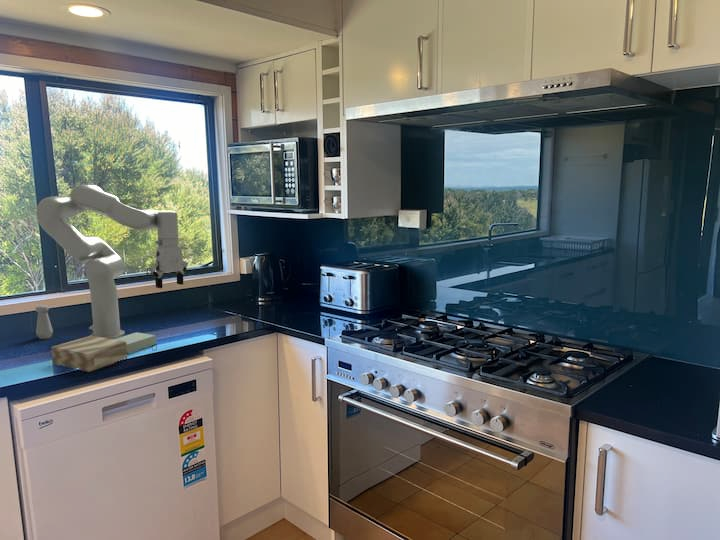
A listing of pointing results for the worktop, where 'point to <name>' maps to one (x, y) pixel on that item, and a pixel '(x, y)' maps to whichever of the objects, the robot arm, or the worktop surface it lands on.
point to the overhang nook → (89, 353)
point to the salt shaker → (43, 323)
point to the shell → (137, 341)
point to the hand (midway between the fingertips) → (169, 286)
